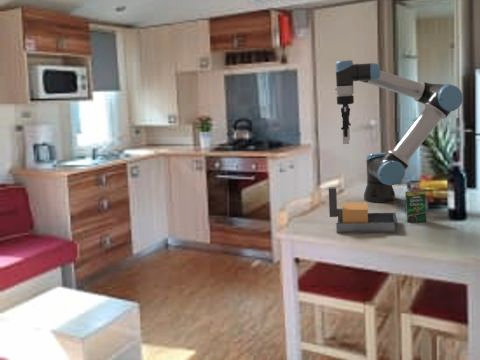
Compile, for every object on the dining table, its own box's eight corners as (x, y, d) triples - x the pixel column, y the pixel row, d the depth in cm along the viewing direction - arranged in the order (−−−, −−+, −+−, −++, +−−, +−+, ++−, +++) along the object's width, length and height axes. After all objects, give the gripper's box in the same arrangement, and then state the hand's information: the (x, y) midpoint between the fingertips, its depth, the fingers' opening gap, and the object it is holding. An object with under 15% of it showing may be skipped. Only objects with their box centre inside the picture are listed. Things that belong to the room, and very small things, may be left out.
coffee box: (406, 222, 237) (406, 192, 234) (405, 220, 239) (405, 190, 237) (426, 222, 235) (426, 191, 233) (425, 220, 238) (425, 190, 235)
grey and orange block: (329, 228, 231) (327, 191, 228) (330, 220, 242) (329, 185, 239) (368, 228, 227) (367, 190, 224) (367, 220, 239) (366, 184, 236)
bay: (336, 233, 229) (336, 223, 228) (338, 222, 244) (337, 213, 243) (397, 232, 223) (397, 223, 223) (395, 221, 239) (395, 212, 238)
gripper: (337, 94, 267) (339, 138, 272) (335, 97, 244) (337, 146, 248) (353, 93, 266) (355, 137, 270) (353, 96, 242) (354, 145, 246)
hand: (346, 141), depth 259 cm, fingers open, 13 cm apart
